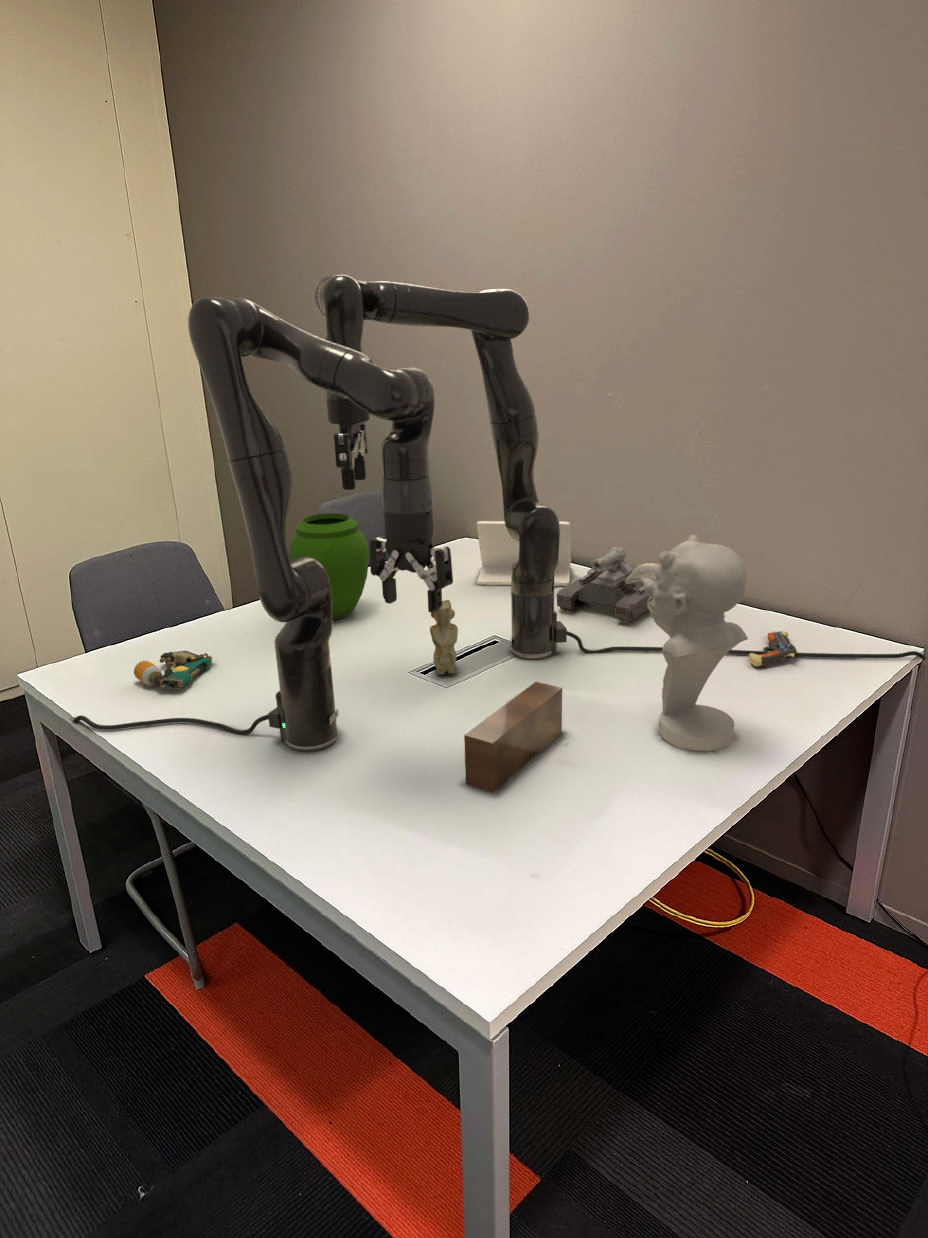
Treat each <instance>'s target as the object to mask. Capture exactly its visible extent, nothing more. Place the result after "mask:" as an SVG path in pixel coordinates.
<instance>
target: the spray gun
mask: <svg viewBox="0 0 928 1238" xmlns="http://www.w3.org/2000/svg"><path fill="white" fill-rule="evenodd" d="M212 660H213V657H212V656H211V655H208V653H207V652H205V653H201V654H197V653H194V652H192V651H191V652H190V651H188V650H180V651H169V652H164V653H162V654H161V655H160V658H159V660H158V662H159V663H161V664H163V663H165V664H166V668H165V670H163V672H164V674H163V673H162V669H160V668H159V666H157V665H156V664H154V663H152V662H151V661H149V660H141V661H139V662H138V663H136V665H135V666H134V668H133V675H134V677H135V678H136V679H137V680H139V681H140V682H142V683H143V684H145V685H147V686H155V685H157V686H158V687H160V688H161V689H171V690H172V689H173V690H182V689H184V687H185V686H186V685H188V684H189V683H190V682H191V681H192V679H193V678H195V677H196V676H197V675H198V674H200V673H201V672H202V671H203V670H206V669H208V668H209V667H210V666H211V665H212V662H213V661H212ZM178 663H179V664H181V665H179V666H176V665H177V664H178Z"/></svg>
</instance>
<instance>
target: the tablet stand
mask: <svg viewBox="0 0 928 1238" xmlns="http://www.w3.org/2000/svg"><path fill="white" fill-rule="evenodd" d="M559 526H560V539H559V557H558V563H557V566H556V569H555V572H554V587H556V586H557V587H566V586H567V585H569V584H570V580H571V579H570V578H571V565H572V564H571V560H572V558H571V522H569V521H559ZM476 531H477V537H478V544H479V551H480V557H481V558H480V559H481V570H480V573H479V575H478V577H477V580H476V581H477V582H476V584H478V585H484V586H485V585H486V586H487V585H489V586H490V585H491V586H511V566H512V564H513V563H514V562H516V561H518V559H519V542H517V541H515V540H514V539H513V538H511V536H510V535H509V534H508V532H507V530H506V527H505V521H504V520H477V522H476Z"/></svg>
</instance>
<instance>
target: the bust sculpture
mask: <svg viewBox="0 0 928 1238" xmlns="http://www.w3.org/2000/svg"><path fill="white" fill-rule="evenodd" d="M658 561H659V564H657V563H653V562H650V563H647V562H646V563H642V564H640V565H637V566H636V568H635V569H634V570H633V572H632V573H631V574H630V575H629V576H628V577H627V579H626V580H625V583H626V584H630V583H635V582H642V583H644V589H645V592H646V594H647V595H648V596H649V599H648V601H647V606H648V609H649V611H650V612H649V613H650V615H651V617H652V619H653V621H654V623H655V624H656V626H658V627H659V628H660V629H661V630H662V631H663V632H664V633H665V634H666V635H668V636H669V639H668V640H666V642H664V644H663V646H662V647H663V649H662V651H661V652H662V655H663V658H664V660H665V663H666V664H667V666H666V668H665V672H664V674H663V678H662V688H661V700H662V705H661V706H662V709H661V710H662V712H661V713H660V714H659V715H660V716H659V726H658V727H659V728H658V733H659V735H660V737H661V738H662V739H663V740H664V741H666V742H667V743H669V744H670V745H673V746H675V747H677V748H681V749H683V750H684V749H685V750H690V751H697V752H711V751H716V750H721V749H723V748H725V747H726V748H727V746H729V745H730V744H731V743H732V742H733V740H734V734H735V720H734V719H733V717H732V716H730V715H729V714H728V713H726V712H725V711H724V710H721V709H719V708H716V707H713V706H709V705H705V704H698V703H697V701H698V700H699V697H700V695H701V693H702V691H703V688H705V686H706V683H707V682H708V680H709V678H710V676H711V675H712V673H713V672H714V670H715V669H716V667H717V666H718V665H719V664H720V662H721V661H722V659H723V658H725V656H726V655H727V653H728V652H729V651H730V650H733V649H734V648H735V647H736V646H737V645H739V644H740V643H742V642H744V641H747V640H749V637H748V636H747V634H746V632H745V631H744V630H743V628H742V627H741V626H740V625H739V624H737V623H735V622H731V621H726V620H725V618H726V616H725V613H727V612H729V611H731V610H733V608H735V607H736V606H737V605H738V604H739V603H740V602H741V600H742V599H743V596H744V594H745V591H746V587H747V569H746V566H745V564H744V562H743V560H742V558H741V556H739V554H737V552H735V550H733V549H732V548H730V547H728V546H726V545H722V544H717V543H707V542H706V543H705V542H701V540H700V537H699V536H698V535H696V534H690V535H689V536H688V538H687V540H686V541H682V542H681V543H679V544H678V545H675V547H673V548H672V549H671V550H670V551H667V550H664V551H661V552H660V554H659V555H658Z"/></svg>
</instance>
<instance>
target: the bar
mask: <svg viewBox="0 0 928 1238" xmlns="http://www.w3.org/2000/svg"><path fill="white" fill-rule="evenodd" d="M562 730H563V687H561V686H556V685H551V684H547V683H543V682H539V681H534V682H533V683H531V685H529V686H528V687H526V688H525V689H524V690H522V691H521V692H520V693H518V694H517V695H515V697H513V698H511V699H510V700H509V701H508V702H506V703H505V704H503V706H501V707H499V708H498V709H497V710H496V711H494V712H493V713H492V714H491V715H489V716H487V717H486V718H485V719H484V720H482V721H481V722H480V723H478V724H477V725H476V726H474V727H473V728H471V730H469V731H468V732H466V733H465V734H464V736H463V738H464V739H463V740H464V741H463V743H464V766H465V768H464V770H465V771H464V773H465V785H468V786H470V787H474V788H477V789H480V790H483V791H485V792H488V793H491V794H495V793H496V792H497V791H498V790H499V789H500V788H502V787H503V786H504V785H505V784H506V783H508V781H509V780H511V779H512V778H513V777H514V776H516V774H517V773H518V772H520V771H521V770H522V769H523V768H524V767H525V766H527V764H529V763H530V762H531V761H532V760H533V759H534V758H535V757H536V756H538V754H540V753H541V752H542V751H543V750H545V748H546V747H548V746H549V745H550V744H551V743H552V742H554V740H555V739H556V738H558V737H559V736H560V735H562V733H563V731H562Z"/></svg>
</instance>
